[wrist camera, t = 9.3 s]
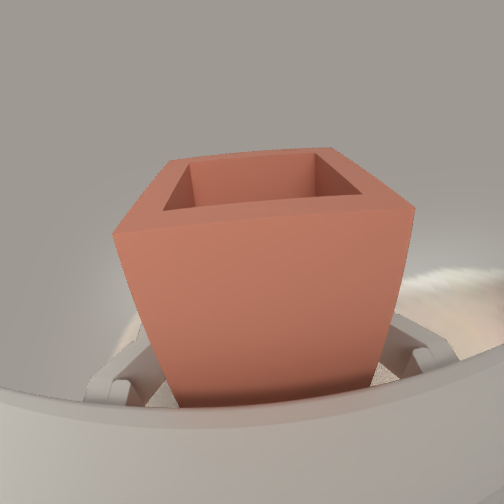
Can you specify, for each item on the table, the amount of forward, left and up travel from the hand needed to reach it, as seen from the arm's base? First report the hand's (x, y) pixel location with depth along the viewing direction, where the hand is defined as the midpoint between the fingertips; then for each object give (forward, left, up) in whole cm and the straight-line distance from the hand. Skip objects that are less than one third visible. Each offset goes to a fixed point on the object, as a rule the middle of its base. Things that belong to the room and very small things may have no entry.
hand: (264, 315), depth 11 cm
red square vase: (0, +1, -6) cm, 7 cm away
